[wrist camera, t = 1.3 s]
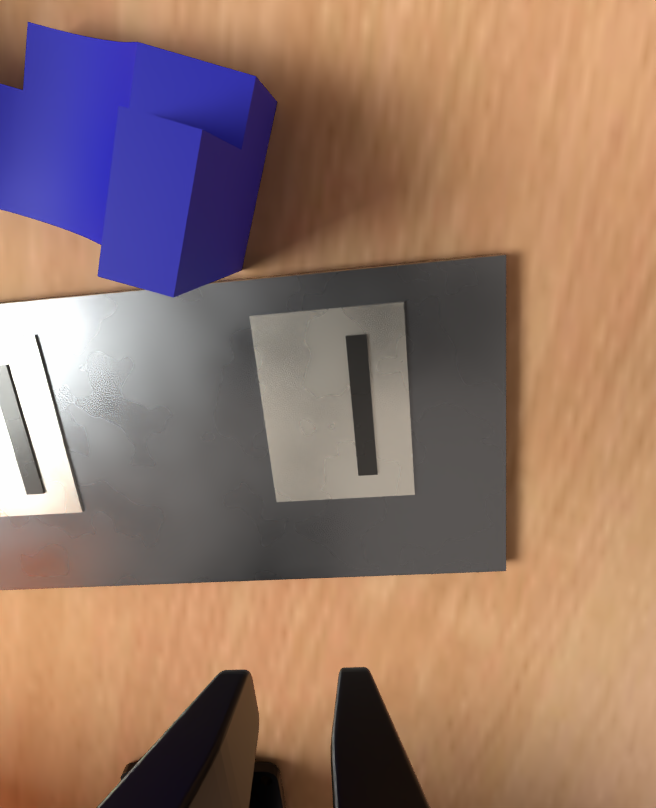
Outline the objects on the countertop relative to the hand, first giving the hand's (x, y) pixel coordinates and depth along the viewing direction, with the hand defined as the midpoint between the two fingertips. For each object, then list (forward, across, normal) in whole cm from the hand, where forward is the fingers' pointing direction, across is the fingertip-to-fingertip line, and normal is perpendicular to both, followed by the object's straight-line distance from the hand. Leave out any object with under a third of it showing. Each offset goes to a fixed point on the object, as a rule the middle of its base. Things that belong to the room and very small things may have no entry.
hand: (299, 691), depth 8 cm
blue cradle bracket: (+10, +7, -10) cm, 16 cm away
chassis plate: (+10, +6, 0) cm, 12 cm away
